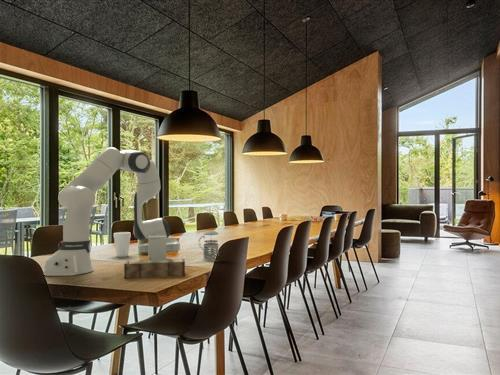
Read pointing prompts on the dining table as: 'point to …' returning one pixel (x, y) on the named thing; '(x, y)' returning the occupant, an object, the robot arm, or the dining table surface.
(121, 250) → the foam cup
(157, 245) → the skincare box
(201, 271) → the dining table surface
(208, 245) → the french press
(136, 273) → the box
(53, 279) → the dining table surface
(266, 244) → the dining table surface
